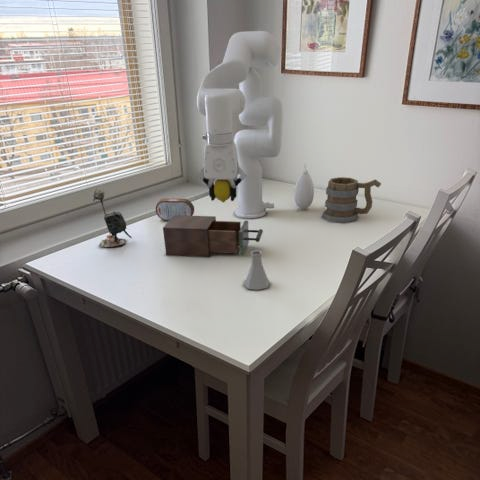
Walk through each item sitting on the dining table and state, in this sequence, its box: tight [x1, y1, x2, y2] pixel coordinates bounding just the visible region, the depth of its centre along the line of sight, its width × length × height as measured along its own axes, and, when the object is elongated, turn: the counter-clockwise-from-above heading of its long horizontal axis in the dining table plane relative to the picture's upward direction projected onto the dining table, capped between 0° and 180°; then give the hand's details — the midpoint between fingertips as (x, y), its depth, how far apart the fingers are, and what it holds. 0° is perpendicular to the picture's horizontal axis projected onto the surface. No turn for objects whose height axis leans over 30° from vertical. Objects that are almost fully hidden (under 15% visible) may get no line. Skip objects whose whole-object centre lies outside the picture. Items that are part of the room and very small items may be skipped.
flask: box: [244, 249, 270, 291], centre depth 130 cm, size 7×7×10 cm
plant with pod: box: [92, 188, 133, 248], centre depth 158 cm, size 8×11×20 cm
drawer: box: [208, 220, 264, 256], centre depth 152 cm, size 19×11×8 cm, turn 80°
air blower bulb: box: [293, 163, 315, 211], centre depth 184 cm, size 8×8×18 cm
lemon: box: [213, 179, 231, 203], centre depth 144 cm, size 6×6×8 cm
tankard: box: [322, 176, 382, 224], centre depth 174 cm, size 20×13×15 cm, turn 68°
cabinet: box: [162, 215, 217, 258], centre depth 154 cm, size 15×12×10 cm
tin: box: [155, 197, 195, 222], centre depth 180 cm, size 15×3×8 cm, turn 84°
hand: (223, 199), depth 145 cm, fingers closed on lemon, 5 cm apart
